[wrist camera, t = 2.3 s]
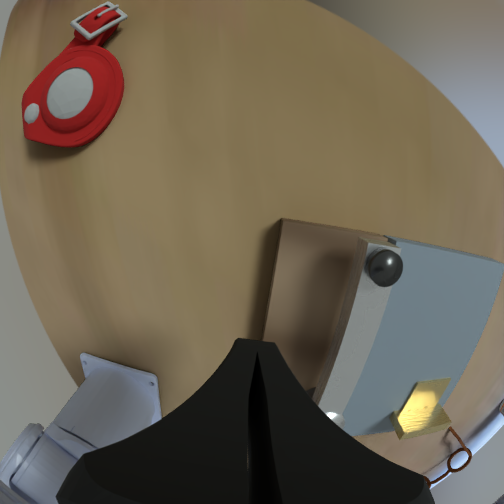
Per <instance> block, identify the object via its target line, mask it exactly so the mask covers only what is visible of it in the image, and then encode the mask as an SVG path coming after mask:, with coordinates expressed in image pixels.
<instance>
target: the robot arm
mask: <svg viewBox="0 0 504 504" xmlns="http://www.w3.org/2000/svg"><path fill="white" fill-rule="evenodd" d="M80 359H81V363H82V367H83V371H84V374H85V378H86V379H85V381H84V382H83V383H82V384H81V386H80V387H79V388H78V390H77V391H76V392H75V393H74V395H73V396H72V397H71V398H70V400H69V401H68V402H67V404H66V405H65V406H64V407H63V409H62V410H61V412H60V413H59V414H58V415H57V417H56V418H55V419H54V421H53V422H52V423H51V424H50V425H49V426H48V427H47V428H46V430H45V431H44V432H43V431H42V430H43V429H44V427H43V426H42V425H41V424H39V423H37V424H32V423H30V424H29V425H28V426H27V427H26V428H25V429H24V430H23V432H22V433H21V434H20V435H19V437H18V438H17V439H16V441H15V442H14V443H13V445H12V446H11V447H10V449H9V450H8V452H7V453H6V454H5V456H4V458H3V459H2V461H1V463H0V504H435V502H434V499H433V497H432V494H431V492H430V489H429V487H428V485H427V483H426V480H425V479H424V477H423V475H421V474H418V473H416V472H413V471H411V470H409V469H406V468H404V467H402V466H399V465H397V464H395V463H393V462H391V461H389V460H387V459H385V458H384V457H382V456H380V455H378V454H377V453H375V452H373V451H372V450H370V449H368V448H367V447H365V446H364V445H362V444H361V443H360V442H358V441H357V440H355V439H354V438H353V437H352V436H350V435H349V434H348V433H346V432H345V431H344V430H343V429H341V428H340V427H339V426H338V425H337V424H336V423H334V422H333V421H332V420H331V419H330V418H329V417H328V416H327V415H326V414H325V413H324V412H323V411H322V410H321V409H320V408H319V407H318V405H317V404H316V403H315V402H314V401H313V400H312V398H311V397H310V396H309V395H308V393H307V392H306V391H305V390H304V388H303V387H302V386H301V384H300V383H299V381H298V380H297V378H296V377H295V375H294V374H293V373H292V371H291V369H290V368H289V366H288V365H287V363H286V361H285V359H284V358H283V356H282V354H281V352H280V350H279V348H278V346H277V345H276V344H275V342H266V341H258V340H250V339H242V338H238V339H236V340H235V342H234V344H233V346H232V348H231V350H230V352H229V353H228V355H227V356H226V358H225V359H224V361H223V362H222V363H221V365H220V366H219V367H218V369H217V370H216V371H215V372H214V373H213V375H212V376H211V377H210V378H209V379H208V380H207V381H206V382H205V383H204V384H203V385H202V386H201V387H200V388H199V389H198V390H197V391H196V392H195V393H194V394H193V395H192V396H191V397H190V398H189V399H187V400H186V401H185V402H184V403H183V404H181V405H180V406H179V407H177V408H176V409H175V410H173V411H172V412H171V413H169V414H168V415H166V416H165V417H163V418H162V416H161V408H160V399H159V389H158V379H157V377H156V375H154V374H152V373H148V372H145V371H141V370H137V369H134V368H130V367H127V366H123V365H120V364H117V363H113V362H110V361H107V360H104V359H101V358H98V357H95V356H92V355H89V354H87V353H82V354H81V355H80ZM151 382H152V383H151ZM493 504H504V494H503V495H502V496H501V497H500V498H499V499H498V500H497V501H496V502H495V503H493Z"/></svg>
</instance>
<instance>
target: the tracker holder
mask: <svg viewBox="0 0 504 504" xmlns="http://www.w3.org/2000/svg"><path fill="white" fill-rule="evenodd" d="M118 7H119V5H113V4H112V3H111V2H106V3H104V4H102V5H100V6H98V7H96V8H94V9H92V10H90V11H89V12H87V13H85V14H83V15H82V16H80V17H78V18H76V19H75V20H73V21H72V22H71V24H70V25H71V26H72V27H73V28H74V29H75V31H74V36H75V38H74V39H73V40H72V41H71V42H70V43H69V45H68V46H67V47H66V48H65V49H64V50H63V51H62V52H61V54H60V55H59V56H58V57H56V58H55V59H54V60H53V61H52V62H51V63H49V64H48V65H47V66H46V67H45V68H44V70H43V71H42V72H41V73H40V74H39V75H38V76H37V77H36V78H35V79H34V81H33V82H32V83H31V84H30V85H29V87H28V88H27V89H26V91H25V93H24V94H23V99H22V118H23V129H24V136H25V138H26V139H29V140H32V141H36V142H40V143H44V144H47V145H52V146H58V147H79V146H82V145H85V144H87V143H89V142H91V141H92V140H94V139H95V138H96V137H98V136H99V135H100V134H101V133H102V132H103V131H104V130H105V129H106V128H107V126H108V125H109V124H110V122H111V121H112V119H113V118H114V116H115V114H116V112H117V110H118V108H119V106H120V103H121V100H122V97H123V92H124V78H123V73H122V69H121V67H120V64H119V62H118V61H117V59H116V58H115V57H114V56H113V55H112V54H111V53H110V52H109V51H108V50H106V49H104V48H102V47H101V46H102V45H103V43H104V42H105V41H106V40H107V39H108V38H109V37H110V36H111V35H112V34H113V32H114V31H115V30H116V28H117V27H118V25H119V23H120V22H122V21H123V20H125V19H127V15H126V14H125V13H123V12H122V11H121V10H120V9H118ZM82 20H83V21H82ZM80 21H82V22H81V23H80V24H78V23H79V22H80Z"/></svg>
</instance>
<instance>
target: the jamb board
mask: <svg viewBox="0 0 504 504" xmlns="http://www.w3.org/2000/svg"><path fill="white" fill-rule="evenodd" d="M358 237H362V238H367V239H373V240H379V241H384V242H387V241H388V238H386V237H384V236H382V235H380V234H375V233H370V232H364V231H359V230H353V229H348V228H342V227H336V226H330V225H324V224H318V223H312V222H305V221H299V220H292V219H286V218H281V224H280V230H279V237H278V243H277V249H276V256H275V262H274V268H273V274H272V280H271V286H270V292H269V298H268V304H267V310H266V315H265V321H264V327H263V332H262V338H261V341H266V342H275V344H276V345H277V346H278V348H279V350H280V352H281V354H282V356H283V358H284V359H285V361H286V363H287V365H288V366H289V368H290V369H291V371H292V373H293V374H294V375H295V377H296V378H297V380H298V381H299V383H300V384H301V386H302V387H303V388H304V390H305V391H306V392H307V393H308V395H309V396H310V397H311V398H312V397H313V395H314V392H315V389H316V387H317V384H318V381H319V378H320V375H321V373H322V370H323V367H324V364H325V361H326V358H327V355H328V352H329V349H330V346H331V342H332V339H333V336H334V333H335V329H336V326H337V323H338V319H339V316H340V312H341V308H342V305H343V301H344V297H345V293H346V289H347V285H348V281H349V277H350V273H351V269H352V264H353V260H354V255H355V251H356V246H357V241H358Z"/></svg>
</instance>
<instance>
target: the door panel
mask: <svg viewBox="0 0 504 504" xmlns="http://www.w3.org/2000/svg"><path fill="white" fill-rule="evenodd" d="M384 237H386V238H388V241H387V242H390V243H392V244H394V245H395V246H397V247H399V248H401V253H400V257H401V259H402V262H403V272H402V274H401V277H400V278H399V280H398V281H397V282H396V283H395V284H393V285H392V288H391V291H390V295H389V298H388V301H387V305H386V308H385V311H384V314H383V317H382V320H381V323H380V326H379V329H378V332H377V334H376V337H375V340H374V343H373V345H372V348H371V350H370V353H369V356H368V358H367V361H366V363H365V365H364V368H363V370H362V373H361V375H360V377H359V379H358V382H357V384H356V386H355V388H354V391H353V393H352V395H351V397H350V399H349V401H348V403H347V405H346V407H345V409H344V411H343V413H342V414H343V417H344V420H345V426H344V428H343V430H344V431H345V432H346V433H348V434H349V435H350V436H356V435H366V434H375V433H383V432H390V431H395V429H394V427H393V425H392V423H391V421H390V419H389V418H390V416H391V414H392V413H393V411H396V410H401V408H402V407H403V405H404V403H405V402H406V400H407V398H408V397H409V395H410V393H411V391H412V389H413V388H414V386H415V384H416V382H419V381H427V380H435V379H442V378H449V377H450V378H451V381H450V383H449V384H448V386H447V388H446V390H445V391H444V393H443V395H442V396H441V398H440V399H439V401H438V403H439V404H440V405H441V407H443V405H444V404H445V402H446V401H447V399H448V398H449V396H450V394H451V393H452V391H453V389H454V388H455V386H456V384H457V383H458V381H459V379H460V377H461V375H462V374H463V372H464V370H465V368H466V366H467V364H468V362H469V360H470V358H471V356H472V354H473V352H474V350H475V348H476V346H477V343H478V341H479V339H480V337H481V334H482V332H483V330H484V327H485V325H486V322H487V320H488V317H489V315H490V312H491V309H492V306H493V304H494V301H495V298H496V295H497V292H498V289H499V285H500V282H501V278H502V275H503V271H504V264H503V263H501V262H498V261H496V260H494V259H491V258H487V257H483V256H479V255H475V254H471V253H467V252H462V251H458V250H453V249H449V248H444V247H440V246H435V245H431V244H426V243H421V242H416V241H411V240H406V239H401V238H396V237H391V236H386V235H384ZM438 403H437V404H438Z"/></svg>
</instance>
